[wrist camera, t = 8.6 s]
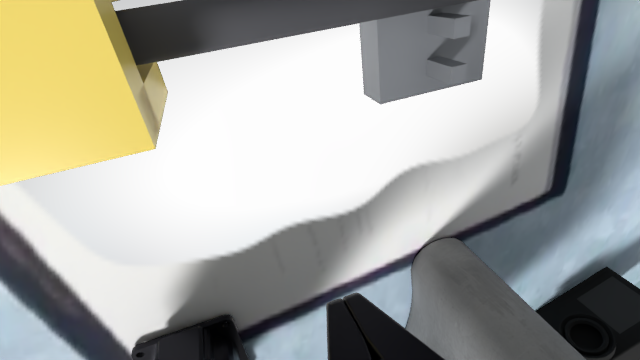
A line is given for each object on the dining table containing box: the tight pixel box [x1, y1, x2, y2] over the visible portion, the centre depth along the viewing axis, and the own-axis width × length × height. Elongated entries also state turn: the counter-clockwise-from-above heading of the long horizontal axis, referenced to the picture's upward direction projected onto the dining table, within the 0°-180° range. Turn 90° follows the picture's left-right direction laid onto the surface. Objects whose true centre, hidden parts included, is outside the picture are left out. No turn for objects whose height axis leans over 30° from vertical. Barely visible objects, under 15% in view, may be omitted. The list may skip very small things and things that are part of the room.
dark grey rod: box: [115, 0, 477, 66], centre depth 13 cm, size 26×5×6 cm, turn 98°
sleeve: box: [0, 0, 168, 186], centre depth 11 cm, size 5×5×7 cm
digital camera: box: [536, 267, 640, 360], centre depth 35 cm, size 10×5×7 cm, turn 117°
